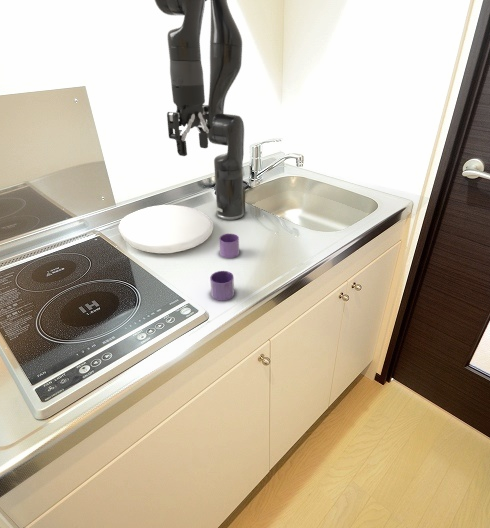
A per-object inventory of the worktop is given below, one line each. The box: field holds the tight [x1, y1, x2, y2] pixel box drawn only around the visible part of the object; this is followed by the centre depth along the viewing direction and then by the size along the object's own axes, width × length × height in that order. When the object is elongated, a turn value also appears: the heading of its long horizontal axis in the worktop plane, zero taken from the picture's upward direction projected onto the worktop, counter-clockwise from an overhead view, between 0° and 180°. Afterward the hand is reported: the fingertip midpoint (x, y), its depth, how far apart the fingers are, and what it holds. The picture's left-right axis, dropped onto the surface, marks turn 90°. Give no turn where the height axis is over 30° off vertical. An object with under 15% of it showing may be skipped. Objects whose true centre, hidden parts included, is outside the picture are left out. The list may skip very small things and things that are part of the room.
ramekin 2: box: [209, 270, 235, 302], centre depth 89 cm, size 6×6×5 cm
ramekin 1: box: [218, 233, 240, 259], centre depth 105 cm, size 6×6×5 cm
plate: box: [118, 204, 214, 254], centre depth 113 cm, size 28×6×27 cm
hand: (193, 151), depth 95 cm, fingers open, 8 cm apart
